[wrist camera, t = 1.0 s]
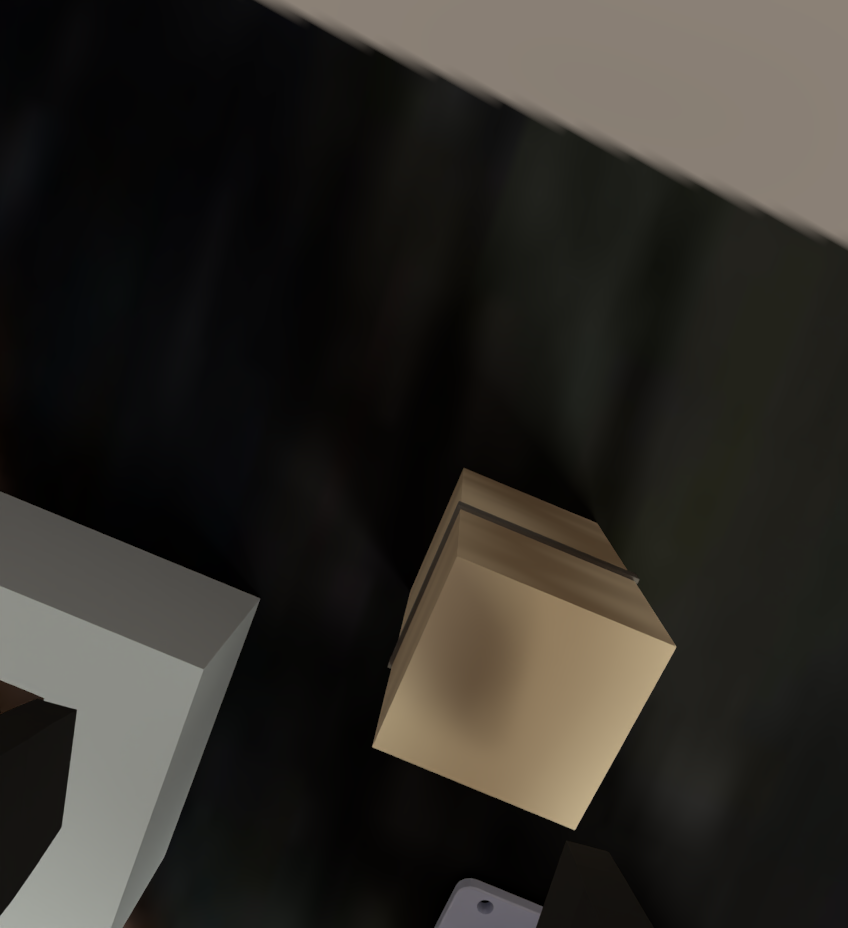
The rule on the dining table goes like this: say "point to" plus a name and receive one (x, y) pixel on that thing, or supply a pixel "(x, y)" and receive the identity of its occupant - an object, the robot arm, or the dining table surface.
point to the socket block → (112, 700)
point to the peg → (520, 653)
